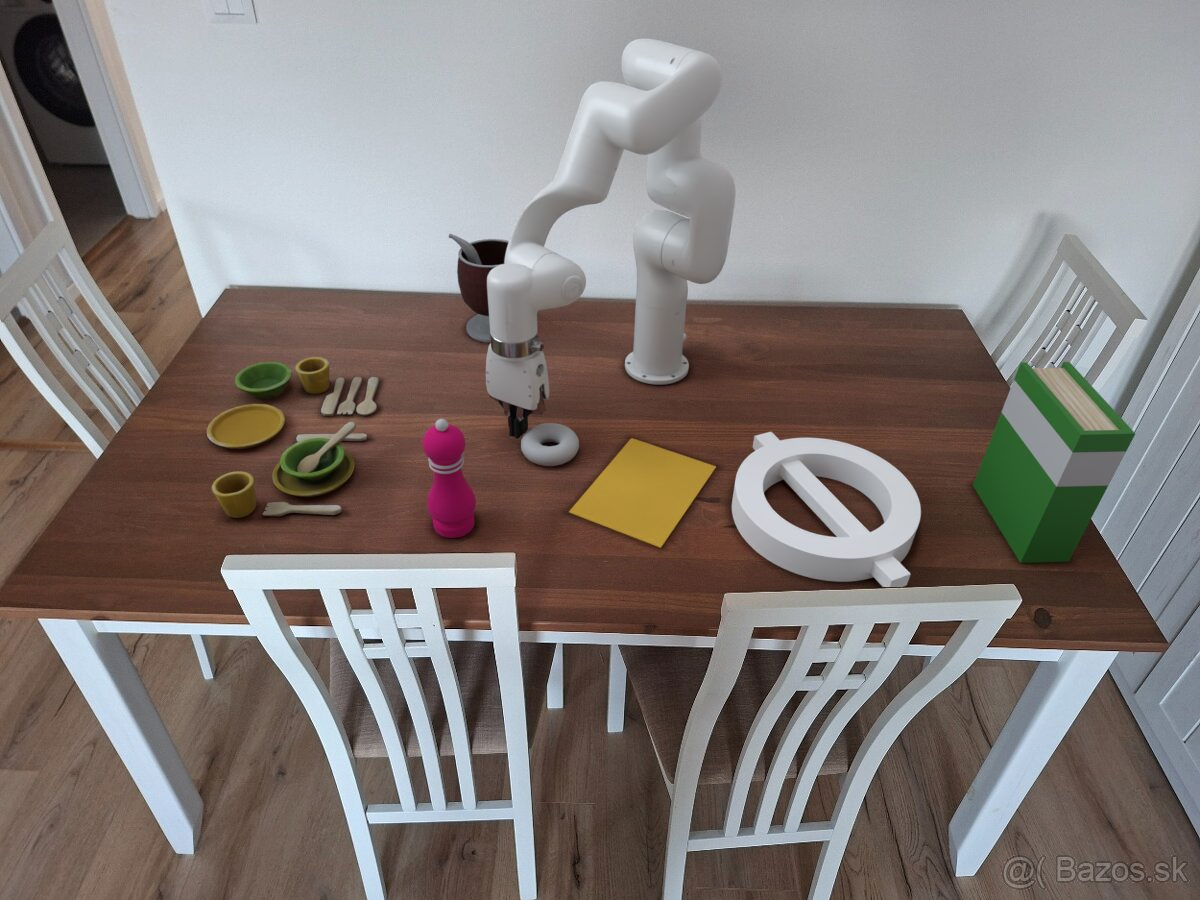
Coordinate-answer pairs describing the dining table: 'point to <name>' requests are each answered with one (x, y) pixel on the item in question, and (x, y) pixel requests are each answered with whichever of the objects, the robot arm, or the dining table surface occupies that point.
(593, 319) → the dining table surface
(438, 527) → the pepper mill
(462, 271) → the mate gourd
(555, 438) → the donut
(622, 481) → the cloth
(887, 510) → the ring with crossbar
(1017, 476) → the hardback book
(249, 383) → the tableware set
